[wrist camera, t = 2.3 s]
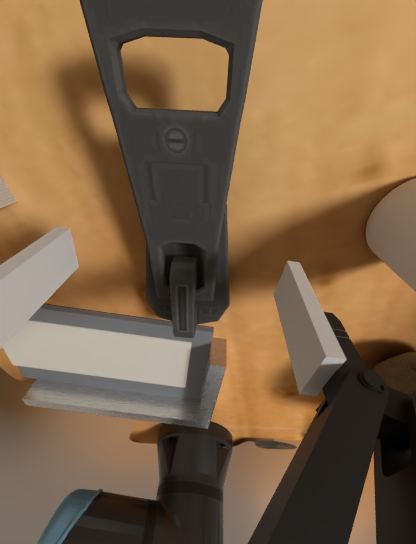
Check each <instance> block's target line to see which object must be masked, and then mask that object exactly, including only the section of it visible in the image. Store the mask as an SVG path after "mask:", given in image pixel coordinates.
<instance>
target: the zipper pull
mask: <svg viewBox="0 0 416 544" xmlns="http://www.w3.org/2000/svg"><path fill="white" fill-rule="evenodd" d="M80 4H81V7H82V11H83V15H84V18H85V22H86V26H87V29H88V33H89V37H90V40H91V44H92V48H93V51H94V55H95V59H96V62H97V66H98V70H99V73H100V77H101V81H102V84H103V88H104V92H105V95H106V98H107V102H108V105H109V108H110V111H111V115H112V118H113V122H114V126H115V129H116V133H117V136H118V140H119V144H120V147H121V151H122V155H123V158H124V162H125V166H126V169H127V173H128V176H129V180H130V184H131V187H132V191H133V195H134V198H135V202H136V206H137V209H138V213H139V216H140V220H141V224H142V227H143V231H144V235H145V238H146V300H147V301H148V303H149V304H150V306H151V307H152V309H153V310H154V312H155V313H156V315H157V316H158V317H161V318H164V319H167V320H170V321H172V324H173V335H174V336H175V337H184V338H194V337H195V331H196V325H197V324H203V323H209V322H215V321H218V320H219V319H220V317H221V316H222V315H223V313H224V312H225V310H226V309H227V308H228V306H229V276H228V233H227V205H226V202H227V196H228V190H229V185H230V179H231V173H232V168H233V162H234V156H235V151H236V145H237V139H238V134H239V128H240V122H241V117H242V113H243V108H244V103H245V98H246V92H247V87H248V81H249V75H250V69H251V64H252V58H253V52H254V46H255V41H256V35H257V29H258V23H259V18H260V12H261V6H262V0H80ZM145 36H149V37H174V38H199V39H205V40H207V41H209V42H212V43H214V44H217V45H219V46H222V47H224V48H226V50H227V52H228V54H229V65H228V79H227V94H226V99H225V101H224V102H223V104H222V105H221V107H220V109H219V110H218V112H213V111H193V110H172V109H151V108H137V107H136V105H135V104H134V102H133V101H132V100H131V98H130V97H129V95H128V94H127V88H126V82H125V76H124V70H123V64H122V58H121V52H120V51H121V48H122V46H123V44H124V43H127V42H130V41H133V40H136V39H139V38H142V37H145Z"/></svg>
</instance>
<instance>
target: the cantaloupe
mask: <svg viewBox="0 0 416 544" xmlns="http://www.w3.org/2000/svg"><path fill="white" fill-rule="evenodd" d="M372 370H373V371H374V372H375V373H377V374H378V375H379V376H380V377H381V378H382V379H383V380H384V382H385V383H386V385H387V386H388V387H390V388H393V389H395V390H398V391H400V392H402V393H405V394H407V395H411V394H412V393H414V392H415V391H416V352H406V353H403V354H400V355H397V356H394V357H391V358H388V359H386V360H384V361H382V362H380V363H378V364H377V365H375V367H374V368H373V369H372Z"/></svg>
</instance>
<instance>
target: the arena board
mask: <svg viewBox="0 0 416 544" xmlns="http://www.w3.org/2000/svg"><path fill="white" fill-rule="evenodd" d="M213 329H214V327H207V326H199V325H196V331H195V337H194V338H184V337H175V336H174V335H173V324H172V322H170V321H163V320H156V319H149V318H141V317H134V316H127V315H120V314H113V313H105V312H98V311H91V310H84V309H76V308H69V307H62V306H55V305H47V304H43V305H42V306H41V307H40V308H39V309H38V310H37V311H36V312H35V313H34V314H33V315H32V317H31V318H30V319H29V320H28V321H27V322H26V323H25V324H24V325H23V326H22V327H21V328H20V329H19V330H18V331H17V332H16V333H15V334H14V335H13V336H12V337H11V339H10V340H9V341H8V342H7V343H6V344H5V345H4V346H3V347H2V348H3V349H4V351H5V353H6V354H7V356H8V358H9V359H10V361H11V363H12V364H13V365H16V366H18V368H19V370H20V372H21V373H22V375H23V377H24V378H32V379H39V380H47V381H55V382H62V383H70V384H78V385H85V386H93V387H100V388H108V389H116V390H123V391H131V392H139V393H146V394H154V395H161V396H169V397H177V398H184V399H192V400H199V397H200V393H201V388H202V383H203V379H204V374H205V369H206V364H207V360H208V355H209V350H210V346H211V341H212V336H213Z"/></svg>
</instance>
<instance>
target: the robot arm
mask: <svg viewBox="0 0 416 544" xmlns="http://www.w3.org/2000/svg"><path fill="white" fill-rule="evenodd" d="M78 267H79V265H78V260H77V256H76V252H75V248H74V244H73V240H72V235H71V231H70V229H69V228H62V227H56V228H54V229H53V230H51V231H50V232H48V233H47V234H45V235H44V236H42V237H41V238H40V239H38V240H37V241H35V242H34V243H32V244H31V245H29V246H28V247H26V248H25V249H23V250H22V251H20V252H19V253H17V254H16V255H14V256H13V257H11V258H10V259H8V260H7V261H5V262H4V263H3V264H1V265H0V349H1V348H2V347H3V346H4V345H5V344H6V343H7V342H8V341H9V340H10V339H11V337H12V336H13V335H14V334H15V333H16V332H17V331H18V330H19V329H20V328H21V327H22V326H23V325H24V324H25V323H26V322H27V321H28V320H29V319H30V318H31V317H32V315H33V314H34V313H35V312H36V311H37V310H38V309H39V308H40V307H41V306H42V305H43V304H44V303H45V302H46V301H47V300H48V299H49V298H50V297H51V296H52V295H53V293H54V292H55V291H56V290H57V289H58V288H59V287H60V286H61V285H62V284H63V283H64V282H65V281H66V280H67V279H68V278H69V277H70V276H71V275H72V274H73V273H74V271H75V270H76V269H77V268H78ZM274 297H275V301H276V305H277V309H278V313H279V317H280V321H281V325H282V329H283V332H284V336H285V340H286V344H287V348H288V352H289V356H290V360H291V364H292V368H293V371H294V375H295V379H296V383H297V387H298V391H299V394H302V395H309V396H316V397H317V395H318V394H319V393H320V392H321V390H323V393H324V395H325V398H326V399H325V400H324V401H323V402H322V403H321V404H320V406H319V407H318V408H317V409H316V411H317V414H316V415H315V417H314V419H313V421H312V423H311V425H310V427H309V429H308V431H307V432H306V434H305V436H304V438H303V440H302V442H301V444H300V446H299V448H298V450H297V451H296V453H295V455H294V458H293V459H292V461H291V463H290V465H289V467H288V468H287V470H286V472H285V474H284V476H283V478H282V480H281V482H280V484H279V485H278V487H277V489H276V491H275V493H274V495H273V497H272V499H271V501H270V503H269V505H268V506H267V508H266V510H265V512H264V514H263V516H262V518H261V520H260V521H259V523H258V525H257V527H256V529H255V531H254V533H253V535H252V537H251V538H250V541H249V542H248V544H348V542H349V538H350V534H351V531H352V527H353V523H354V520H355V516H356V513H357V509H358V505H359V501H360V498H361V494H362V490H363V487H364V483H365V479H366V476H367V473H368V469H369V465H370V462H371V458H372V454H373V451H374V479H375V511H376V541H377V544H416V391H415V392H414V393H412V394H411V395H407V394H405V393H402V392H400V391H398V390H395V389H393V388H390V387H388V386H387V385H386V383H385V382H384V380H383V379H382V378H381V377H380V376H379V375H378V374H377V373H375V372H374V371H373V370H371V369H369V368H367V367H365V366H364V364H363V362H362V360H361V358H360V357H359V355H358V353H357V351H356V349H355V347H354V345H353V344H352V342H351V340H350V339H349V336H348V334H347V333H346V332H345V329H344V327H343V325H342V323H341V321H340V320H339V319H338V318H337V317H336V316H335V315H334V314H333V313H328V312H323V310H322V307H321V305H320V303H319V301H318V299H317V297H316V295H315V293H314V291H313V289H312V287H311V285H310V283H309V281H308V279H307V276H306V274H305V272H304V270H303V268H302V266H301V264H300V262H294V261H287V262H286V265H285V268H284V270H283V273H282V275H281V278H280V280H279V283H278V285H277V288H276V291H275V293H274ZM157 446H158V462H159V486H158V492H157V497H156V500H150V499H144V498H138V497H131V496H125V495H119V494H114V493H108V492H103V490H102V489H99V490H98V491H96V490H85V489H77V490H75V491H73V492H71V493H70V494H69V495H68V496H67V497H66V498H65V499H64V500H63V501H62V503H61V504H60V506H59V507H58V509H57V510H56V512H55V513H54V515H53V517H52V518H51V520H50V521H49V523H48V525H47V526H46V528H45V530H44V532H43V533H42V535H41V537H40V539H39V541H38V543H37V544H223V486H224V482H225V478H226V474H227V470H228V466H229V462H230V458H231V454H232V435H231V434H230V432H229V431H228V430H226V429H225V428H223V427H222V426H219V425H217V424H214V423H211V422H210V424H209V427H208V429H207V428H199V427H191V426H183V425H175V424H168V423H167V424H165V425H164V426H162V427H161V429H160V432H159V437H158V444H157Z"/></svg>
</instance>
